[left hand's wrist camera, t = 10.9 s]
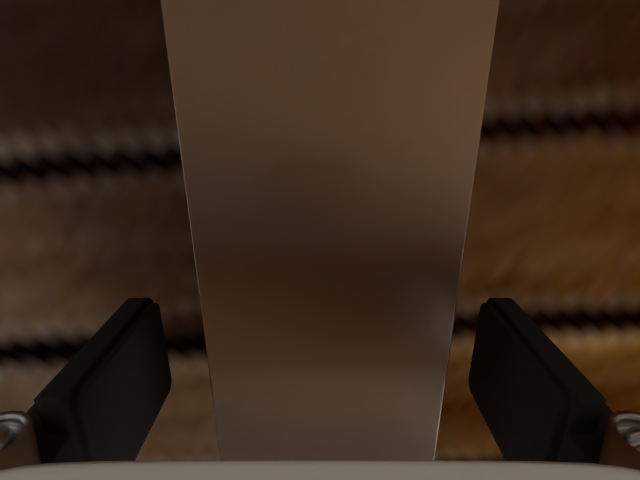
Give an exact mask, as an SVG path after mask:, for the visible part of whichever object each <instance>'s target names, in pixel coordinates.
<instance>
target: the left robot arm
mask: <svg viewBox="0 0 640 480" xmlns="http://www.w3.org/2000/svg"><path fill="white" fill-rule="evenodd" d="M170 388H171V373H170V367H169V361H168V355H167V349H166V343H165V337H164V331H163V326H162V320H161V314H160V308H159V305H158V304H157V303H153V301H152V299H151V298H129V299H127V300H126V301H125V303H124V304H123V305H122V306H121V307H120V308H119V309H118V310H117V311H116V312H115V313H114V314H113V315H112V316H111V317H110V319H109V320H108V321H107V322H106V323H105V324H104V325H103V326H102V327H101V328H100V329H99V330H98V331H97V332H96V334H95V335H94V336H93V337H92V338H91V339H90V340H89V341H88V342H87V343H86V344H85V345H84V346H83V347H82V349H81V350H80V351H79V352H78V353H77V354H76V355H75V356H74V357H73V358H72V359H71V360H70V361H69V362H68V364H67V365H66V366H65V367H64V368H63V369H62V370H61V371H60V372H59V373H58V374H57V375H56V376H55V377H54V379H53V380H52V381H51V382H50V383H49V384H48V385H47V386H46V387H45V388H44V389H43V390H42V391H41V392H40V394H39V395H38V396H37V397H36V398H35V399H34V402H35V404H34V405H33V406H32V407H31V408H30V410H29V411H28V412H27V413H25V412H23V411H7V412H1V413H0V480H640V413H639V412H633V411H617V412H615V413H613V412H612V411H611V410H610V408H609V407H608V406H607V405H606V404H605V402H606V399H605V398H604V397H603V396H602V395H601V394H600V392H599V391H598V390H597V389H596V388H595V387H594V386H593V385H592V384H591V383H590V382H589V381H588V380H587V379H586V377H585V376H584V375H583V374H582V373H581V372H580V371H579V370H578V369H577V368H576V367H575V366H574V365H573V364H572V362H571V361H570V360H569V359H568V358H567V357H566V356H565V355H564V354H563V353H562V352H561V351H560V350H559V349H558V347H557V346H556V345H555V344H554V343H553V342H552V341H551V340H550V339H549V338H548V337H547V336H546V335H545V334H544V332H543V331H542V330H541V329H540V328H539V327H538V326H537V325H536V324H535V323H534V322H533V321H532V320H531V319H530V317H529V316H528V315H527V314H526V313H525V312H524V311H523V310H522V309H521V308H520V307H519V306H518V305H517V304H516V303H515V301H514V300H513V299H511V298H489V299H488V301H487V303H483V304H482V305H481V308H480V314H479V320H478V326H477V331H476V337H475V343H474V349H473V355H472V361H471V367H470V373H469V388H470V391H471V393H472V395H473V397H474V399H475V401H476V403H477V405H478V407H479V409H480V411H481V413H482V415H483V417H484V419H485V421H486V423H487V425H488V427H489V429H490V431H491V433H492V435H493V437H494V439H495V441H496V443H497V445H498V447H499V449H500V451H501V453H502V455H503V456H504V458H505V460H506V461H437V460H203V461H134V460H135V458H136V456H137V455H138V453H139V451H140V449H141V447H142V445H143V443H144V441H145V439H146V437H147V435H148V433H149V431H150V429H151V427H152V425H153V423H154V421H155V419H156V417H157V415H158V413H159V411H160V409H161V407H162V405H163V403H164V401H165V399H166V397H167V395H168V393H169V391H170Z"/></svg>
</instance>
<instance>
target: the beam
mask: <svg viewBox="0 0 640 480" xmlns="http://www.w3.org/2000/svg"><path fill="white" fill-rule="evenodd" d="M160 2H161V10H162V17H163V25H164V32H165V40H166V47H167V55H168V62H169V70H170V78H171V85H172V93H173V100H174V108H175V115H176V123H177V131H178V138H179V146H180V153H181V161H182V168H183V176H184V184H185V191H186V199H187V206H188V214H189V221H190V229H191V237H192V244H193V252H194V259H195V267H196V274H197V282H198V290H199V297H200V305H201V312H202V320H203V327H204V335H205V343H206V350H207V358H208V365H209V373H210V380H211V388H212V395H213V403H214V411H215V418H216V426H217V433H218V441H219V448H220V456H221V460H434V459H435V452H436V445H437V438H438V431H439V424H440V417H441V410H442V403H443V396H444V389H445V382H446V375H447V367H448V360H449V353H450V346H451V339H452V332H453V325H454V318H455V311H456V304H457V297H458V290H459V283H460V276H461V269H462V261H463V254H464V247H465V240H466V233H467V226H468V219H469V212H470V205H471V198H472V191H473V184H474V177H475V170H476V162H477V155H478V148H479V141H480V134H481V127H482V120H483V113H484V106H485V99H486V92H487V85H488V78H489V71H490V64H491V56H492V49H493V42H494V35H495V28H496V21H497V14H498V7H499V0H160Z"/></svg>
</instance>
